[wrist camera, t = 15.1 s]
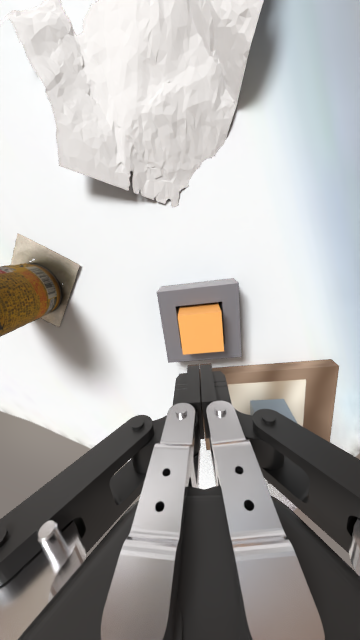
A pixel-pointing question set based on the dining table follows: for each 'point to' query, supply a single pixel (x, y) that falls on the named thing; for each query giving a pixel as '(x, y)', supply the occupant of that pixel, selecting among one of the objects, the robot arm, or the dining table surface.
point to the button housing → (200, 294)
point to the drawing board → (287, 390)
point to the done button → (201, 328)
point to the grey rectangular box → (272, 408)
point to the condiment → (34, 286)
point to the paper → (140, 85)
